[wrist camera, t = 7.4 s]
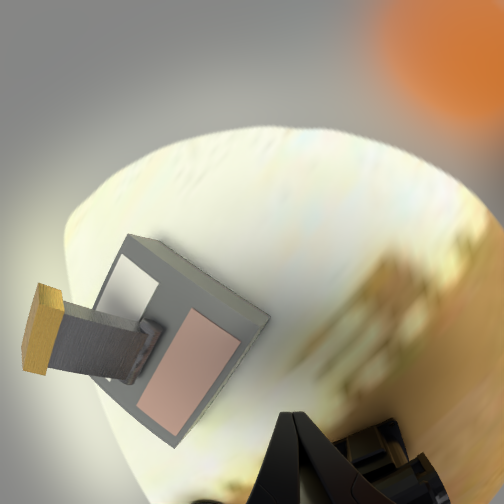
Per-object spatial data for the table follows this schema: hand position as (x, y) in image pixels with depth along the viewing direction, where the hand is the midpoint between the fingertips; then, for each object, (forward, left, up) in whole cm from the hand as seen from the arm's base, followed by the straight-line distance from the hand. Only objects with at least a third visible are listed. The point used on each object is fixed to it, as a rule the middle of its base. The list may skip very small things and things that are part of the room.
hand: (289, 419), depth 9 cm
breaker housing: (+4, +10, -14) cm, 18 cm away
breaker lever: (+4, +10, -8) cm, 14 cm away
